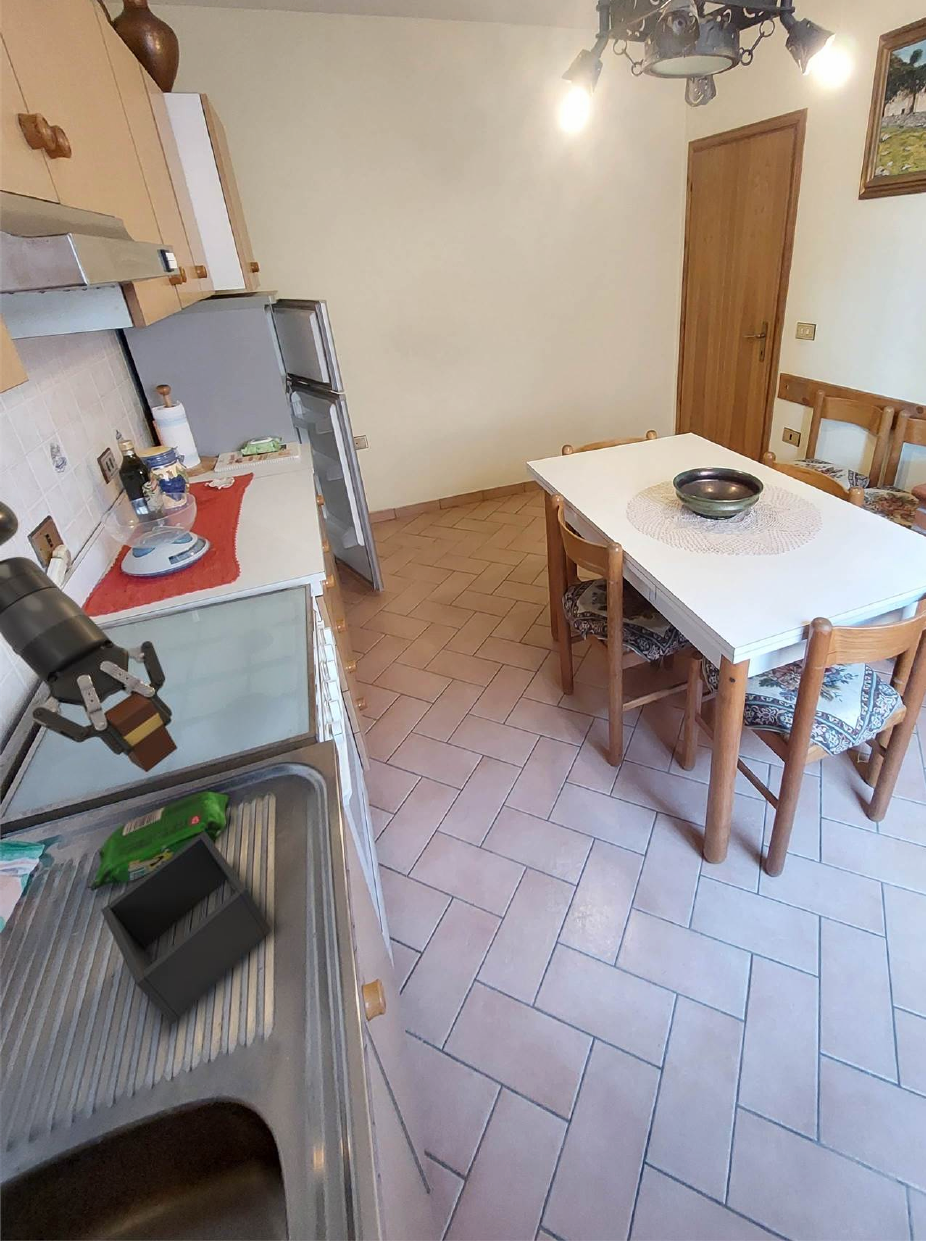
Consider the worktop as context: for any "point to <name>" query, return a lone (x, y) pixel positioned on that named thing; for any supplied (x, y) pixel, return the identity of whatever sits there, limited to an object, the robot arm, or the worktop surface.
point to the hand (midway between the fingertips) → (149, 736)
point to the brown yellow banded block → (141, 731)
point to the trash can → (200, 950)
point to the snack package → (159, 837)
